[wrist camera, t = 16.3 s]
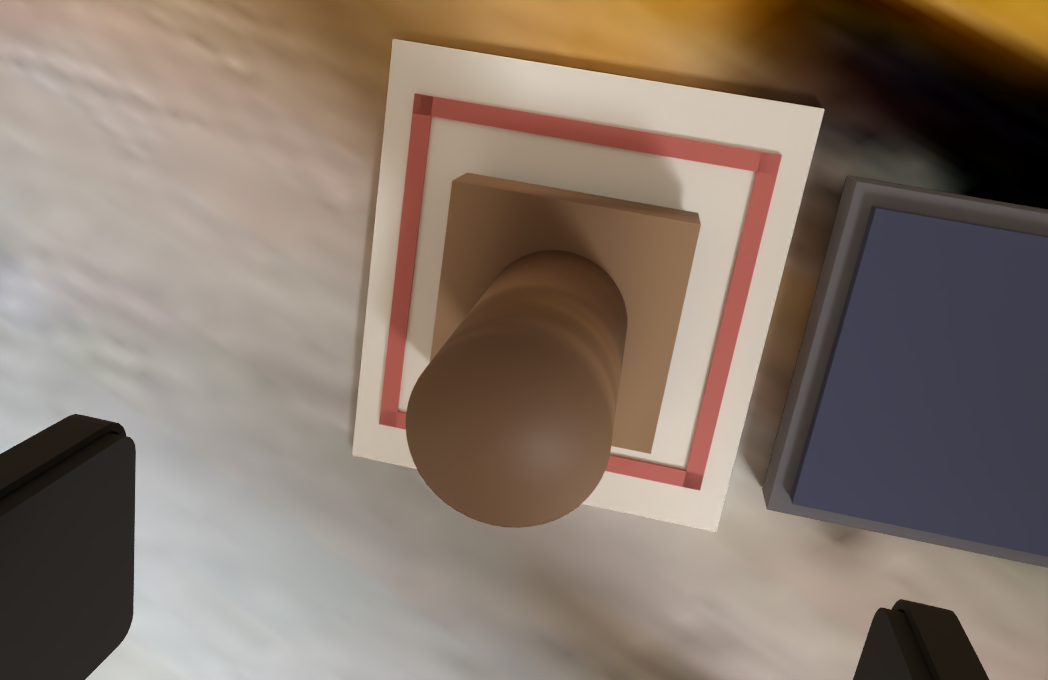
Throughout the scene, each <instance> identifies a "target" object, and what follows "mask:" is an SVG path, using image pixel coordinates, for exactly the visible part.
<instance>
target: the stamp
mask: <svg viewBox="0 0 1048 680" xmlns="http://www.w3.org/2000/svg"><path fill="white" fill-rule="evenodd" d="M700 227H701V223H700V218H699V214H698V213H696V212H690V211H685V210H679V209H673V208H667V207H662V206H656V205H650V204H645V203H639V202H633V201H627V200H622V199H616V198H610V197H605V196H599V195H593V194H587V193H582V192H576V191H570V190H565V189H559V188H553V187H547V186H542V185H536V184H530V183H525V182H519V181H513V180H507V179H502V178H496V177H490V176H485V175H479V174H473V173H465V174H463V175H462V176H460V177H458V178H456V179H454V180H452V186H451V194H450V202H449V210H448V219H447V227H446V235H445V243H444V251H443V259H442V267H441V275H440V283H439V292H438V300H437V308H436V316H435V324H434V332H433V340H432V348H431V356H430V363H429V364H428V366H427V367H426V368H425V370H424V371H423V372H422V374H421V375H420V377H419V378H418V380H417V382H416V384H415V386H414V388H413V390H412V392H411V395H410V398H409V401H408V406H407V411H406V437H407V442H408V447H409V451H410V454H411V456H412V459H413V462H414V464H415V466H416V468H417V470H418V471H419V473H420V475H421V476H422V478H423V479H424V481H425V482H426V484H427V485H428V486H429V487H430V488H431V489H432V491H433V492H434V493H435V494H436V495H437V496H438V497H439V498H441V499H442V500H443V501H444V502H445V503H446V504H448V505H449V506H451V507H452V508H454V509H455V510H456V511H458V512H460V513H462V514H464V515H466V516H468V517H470V518H472V519H475V520H477V521H480V522H484V523H487V524H491V525H496V526H502V527H530V526H536V525H540V524H545V523H548V522H550V521H553V520H556V519H558V518H560V517H562V516H564V515H566V514H568V513H570V512H571V511H573V510H574V509H575V508H577V507H578V506H579V505H580V504H582V503H583V502H584V501H585V500H586V499H587V498H588V497H589V496H590V495H591V493H592V492H593V491H594V490H595V488H596V487H597V485H598V484H599V482H600V480H601V479H602V477H603V474H604V472H605V470H606V468H607V464H608V461H609V457H610V451H611V446H614V447H619V448H624V449H629V450H634V451H639V452H644V453H649V454H651V451H652V446H653V441H654V437H655V432H656V428H657V423H658V419H659V414H660V409H661V405H662V400H663V396H664V391H665V387H666V382H667V377H668V373H669V368H670V364H671V359H672V355H673V350H674V345H675V341H676V336H677V332H678V327H679V323H680V318H681V313H682V309H683V304H684V300H685V295H686V291H687V286H688V281H689V277H690V272H691V268H692V263H693V259H694V254H695V249H696V245H697V240H698V236H699V231H700Z"/></svg>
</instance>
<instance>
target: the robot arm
mask: <svg viewBox="0 0 1048 680" xmlns="http://www.w3.org/2000/svg"><path fill="white" fill-rule="evenodd" d="M135 459H136V450H135V444H134V441H133V440H132V439H131V438H130V437H126V433H125V430H124V428H123V427H122V426H121V425H120V424H119V423H115V422H111V421H106V420H102V419H97V418H93V417H88V416H84V415H78V414H74V415H71V416H68V417H66V418H64V419H63V420H61V421H59V422H57V423H55V424H54V425H52V426H50V427H48V428H46V429H45V430H43V431H41V432H39V433H37V434H36V435H34V436H32V437H30V438H28V439H27V440H25V441H23V442H21V443H19V444H18V445H16V446H14V447H12V448H10V449H9V450H7V451H5V452H3V453H1V454H0V680H85V679H86V678H87V677H88V676H89V675H90V674H91V673H92V672H93V671H94V670H95V669H96V668H97V667H98V666H99V665H100V664H101V663H102V662H103V661H104V660H105V659H106V658H107V657H108V656H109V655H110V654H111V653H112V652H113V651H114V650H115V649H116V648H117V647H118V646H119V645H120V643H121V642H122V641H123V640H124V638H125V636H126V635H127V633H128V630H129V628H130V626H131V622H132V619H133V595H134V527H135ZM853 680H989V678H988V676H987V674H986V672H985V670H984V668H983V666H982V664H981V663H980V661H979V659H978V657H977V655H976V653H975V651H974V649H973V647H972V645H971V643H970V641H969V639H968V637H967V635H966V633H965V631H964V629H963V628H962V626H961V624H960V622H959V620H958V618H957V616H956V615H955V613H954V612H953V611H950V610H947V609H943V608H938V607H934V606H929V605H925V604H920V603H916V602H911V601H907V600H902V599H900V600H899V601H897V602H896V603H895V605H894V606H893V608H892V610H890V609H886V608H880V609H878V610H877V612H876V613H875V616H874V618H873V621H872V624H871V627H870V630H869V633H868V636H867V639H866V642H865V645H864V648H863V651H862V654H861V657H860V660H859V663H858V666H857V669H856V672H855V675H854V678H853Z"/></svg>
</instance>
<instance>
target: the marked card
mask: <svg viewBox="0 0 1048 680" xmlns="http://www.w3.org/2000/svg"><path fill="white" fill-rule="evenodd" d="M824 110H825V109H823V108H817V107H810V106H804V105H798V104H792V103H786V102H780V101H774V100H767V99H761V98H755V97H749V96H743V95H737V94H731V93H724V92H718V91H712V90H706V89H700V88H694V87H688V86H681V85H675V84H669V83H663V82H657V81H651V80H645V79H638V78H632V77H626V76H620V75H614V74H608V73H602V72H595V71H589V70H583V69H577V68H571V67H565V66H559V65H552V64H546V63H540V62H534V61H528V60H522V59H516V58H509V57H503V56H497V55H491V54H485V53H479V52H473V51H466V50H460V49H454V48H448V47H442V46H436V45H429V44H423V43H417V42H411V41H405V40H399V39H393V41H392V52H391V62H390V72H389V82H388V93H387V103H386V113H385V123H384V133H383V144H382V154H381V164H380V174H379V185H378V195H377V205H376V215H375V225H374V236H373V246H372V256H371V266H370V277H369V287H368V297H367V307H366V317H365V328H364V338H363V348H362V358H361V368H360V379H359V389H358V399H357V409H356V420H355V430H354V440H353V450H352V455H353V456H357V457H362V458H367V459H372V460H376V461H381V462H386V463H391V464H395V465H400V466H405V467H409V468H414V469H417V468H416V466H415V464H414V462H413V459H412V456H411V454H410V451H409V447H408V442H407V437H406V411H407V406H408V401H409V398H410V395H411V392H412V390H413V388H414V386H415V384H416V382H417V380H418V378H419V377H420V375H421V374H422V372H423V371H424V370H425V368H426V367H427V366H428V364H429V363H430V356H431V348H432V340H433V332H434V324H435V316H436V308H437V300H438V292H439V283H440V275H441V267H442V259H443V251H444V243H445V235H446V227H447V219H448V210H449V202H450V194H451V186H452V180H454V179H456V178H458V177H460V176H462V175H463V174H465V173H473V174H479V175H485V176H490V177H496V178H502V179H507V180H513V181H519V182H525V183H530V184H536V185H542V186H547V187H553V188H559V189H565V190H570V191H576V192H582V193H587V194H593V195H599V196H605V197H610V198H616V199H622V200H627V201H633V202H639V203H645V204H650V205H656V206H662V207H667V208H673V209H679V210H685V211H690V212H696V213H698V214H699V218H700V223H701V227H700V231H699V236H698V240H697V245H696V249H695V254H694V259H693V263H692V268H691V272H690V277H689V281H688V286H687V291H686V295H685V300H684V304H683V309H682V313H681V318H680V323H679V327H678V332H677V336H676V341H675V345H674V350H673V355H672V359H671V364H670V368H669V373H668V377H667V382H666V387H665V391H664V396H663V400H662V405H661V409H660V414H659V419H658V423H657V428H656V432H655V437H654V441H653V446H652V451H651V454H649V453H644V452H639V451H634V450H629V449H624V448H619V447H614V446H611V451H610V457H609V461H608V464H607V468H606V470H605V472H604V474H603V477H602V479H601V480H600V482H599V484H598V485H597V487H596V488H595V490H594V491H593V492H592V493H591V495H590V496H589V497H588V498H587V499H586V500H585V501H584V502H583V503H582V504H584V505H589V506H594V507H599V508H603V509H608V510H613V511H617V512H622V513H627V514H632V515H636V516H641V517H646V518H651V519H655V520H660V521H665V522H669V523H674V524H679V525H684V526H688V527H693V528H698V529H703V530H707V531H712V532H717V528H718V524H719V520H720V516H721V513H722V509H723V505H724V501H725V497H726V493H727V489H728V485H729V481H730V477H731V473H732V469H733V466H734V462H735V458H736V454H737V450H738V446H739V442H740V438H741V434H742V430H743V426H744V423H745V419H746V415H747V411H748V407H749V403H750V399H751V395H752V391H753V387H754V383H755V380H756V376H757V372H758V368H759V364H760V360H761V356H762V352H763V348H764V344H765V340H766V337H767V333H768V329H769V325H770V321H771V317H772V313H773V309H774V305H775V301H776V297H777V293H778V290H779V286H780V282H781V278H782V274H783V270H784V266H785V262H786V258H787V254H788V250H789V247H790V243H791V239H792V235H793V231H794V227H795V223H796V219H797V215H798V211H799V207H800V204H801V200H802V196H803V192H804V188H805V184H806V180H807V176H808V172H809V168H810V164H811V160H812V157H813V153H814V149H815V145H816V141H817V137H818V133H819V129H820V125H821V121H822V117H823V114H824Z"/></svg>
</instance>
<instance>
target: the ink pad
mask: <svg viewBox="0 0 1048 680" xmlns="http://www.w3.org/2000/svg"><path fill="white" fill-rule="evenodd" d="M762 490H763V494H764V498H765V503H766V507H767V509H768V510H773V511H778V512H782V513H787V514H792V515H797V516H802V517H806V518H811V519H816V520H821V521H826V522H831V523H835V524H840V525H845V526H850V527H855V528H859V529H864V530H869V531H874V532H879V533H883V534H888V535H893V536H898V537H903V538H907V539H912V540H917V541H922V542H927V543H932V544H936V545H941V546H946V547H951V548H956V549H960V550H965V551H970V552H975V553H980V554H984V555H989V556H994V557H999V558H1004V559H1009V560H1013V561H1018V562H1023V563H1028V564H1033V565H1037V566H1042V567H1047V568H1048V210H1047V209H1041V208H1036V207H1030V206H1024V205H1018V204H1012V203H1006V202H1000V201H994V200H988V199H982V198H977V197H971V196H965V195H959V194H953V193H947V192H941V191H935V190H929V189H924V188H918V187H912V186H906V185H900V184H894V183H888V182H882V181H876V180H870V179H865V178H859V177H853V176H847V178H846V181H845V185H844V189H843V192H842V196H841V200H840V203H839V207H838V211H837V215H836V218H835V222H834V226H833V229H832V233H831V237H830V240H829V244H828V248H827V252H826V255H825V259H824V263H823V266H822V270H821V274H820V278H819V281H818V285H817V289H816V292H815V296H814V300H813V303H812V307H811V311H810V315H809V318H808V322H807V326H806V329H805V333H804V337H803V340H802V344H801V348H800V352H799V355H798V359H797V363H796V366H795V370H794V374H793V377H792V381H791V385H790V389H789V392H788V396H787V400H786V403H785V407H784V411H783V414H782V418H781V422H780V426H779V429H778V433H777V437H776V440H775V444H774V448H773V451H772V455H771V459H770V463H769V466H768V470H767V474H766V477H765V481H764V485H763V488H762Z"/></svg>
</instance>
